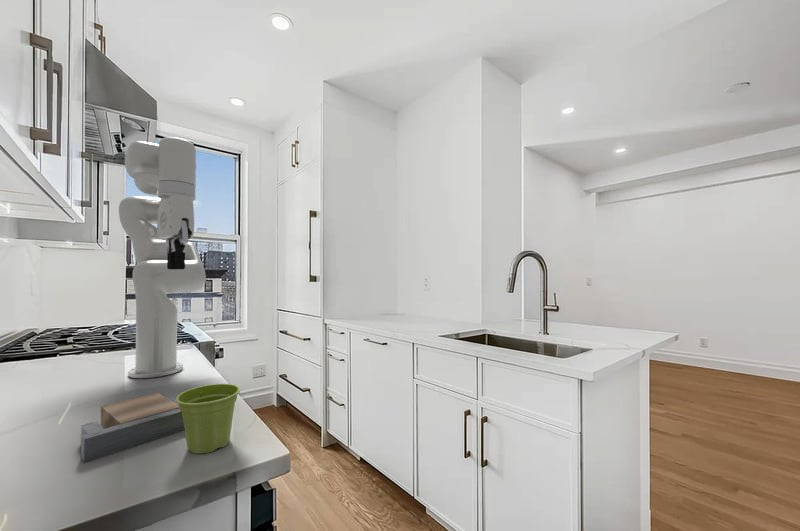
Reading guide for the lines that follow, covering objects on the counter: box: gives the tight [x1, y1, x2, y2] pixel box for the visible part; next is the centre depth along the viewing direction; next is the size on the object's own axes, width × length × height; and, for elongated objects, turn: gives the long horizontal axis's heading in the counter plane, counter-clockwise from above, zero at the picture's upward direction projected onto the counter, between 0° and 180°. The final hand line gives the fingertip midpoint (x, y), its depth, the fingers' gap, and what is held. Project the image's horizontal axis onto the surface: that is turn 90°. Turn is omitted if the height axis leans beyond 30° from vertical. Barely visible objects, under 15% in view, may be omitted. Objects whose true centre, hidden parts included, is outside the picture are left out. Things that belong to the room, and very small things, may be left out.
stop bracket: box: [80, 408, 185, 463], centre depth 63 cm, size 8×20×4 cm, turn 142°
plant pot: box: [175, 383, 241, 455], centre depth 58 cm, size 9×9×9 cm
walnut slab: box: [100, 392, 179, 429], centre depth 65 cm, size 12×9×4 cm
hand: (176, 269), depth 82 cm, fingers closed
